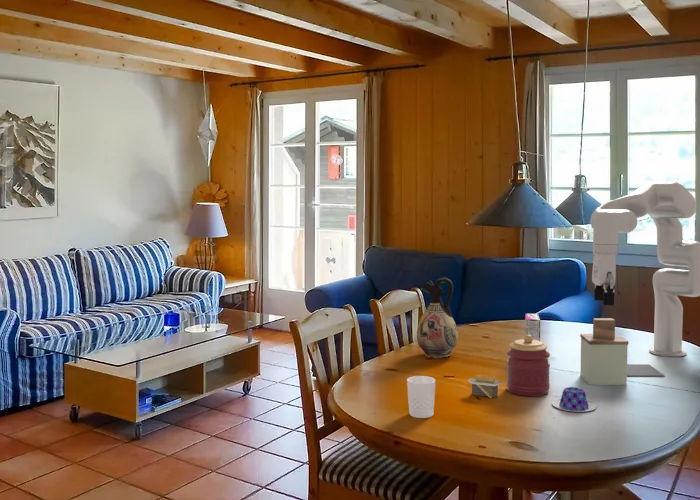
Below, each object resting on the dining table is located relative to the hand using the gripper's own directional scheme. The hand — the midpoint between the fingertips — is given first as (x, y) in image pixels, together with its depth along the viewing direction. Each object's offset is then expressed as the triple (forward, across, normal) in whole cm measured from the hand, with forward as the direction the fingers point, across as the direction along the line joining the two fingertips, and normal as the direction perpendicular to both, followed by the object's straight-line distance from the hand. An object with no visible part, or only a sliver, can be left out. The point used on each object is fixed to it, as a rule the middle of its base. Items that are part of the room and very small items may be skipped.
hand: (603, 302), depth 222 cm
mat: (+25, -12, +15) cm, 31 cm away
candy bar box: (+26, -25, -17) cm, 40 cm away
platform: (+27, +17, -40) cm, 51 cm away
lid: (+12, 0, 0) cm, 13 cm away
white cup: (+27, +34, -59) cm, 74 cm away
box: (+26, -1, +1) cm, 26 cm away
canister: (+26, +12, -26) cm, 38 cm away
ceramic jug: (+26, -32, -50) cm, 65 cm away
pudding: (+26, +26, -15) cm, 40 cm away
